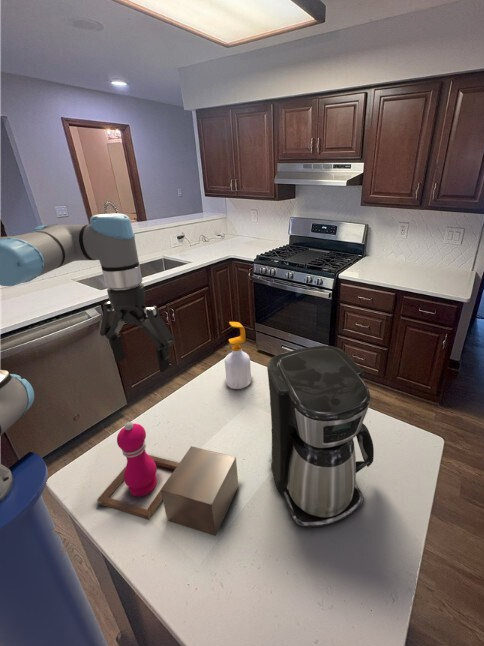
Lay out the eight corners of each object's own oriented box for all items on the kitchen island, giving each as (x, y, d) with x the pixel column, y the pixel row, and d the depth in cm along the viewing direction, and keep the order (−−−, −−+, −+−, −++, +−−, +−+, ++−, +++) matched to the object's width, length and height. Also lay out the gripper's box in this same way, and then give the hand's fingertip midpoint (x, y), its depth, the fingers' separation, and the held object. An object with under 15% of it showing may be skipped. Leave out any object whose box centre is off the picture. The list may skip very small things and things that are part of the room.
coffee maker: (321, 553, 64) (330, 427, 51) (232, 457, 86) (222, 351, 72) (380, 484, 78) (400, 371, 65) (291, 416, 100) (292, 322, 87)
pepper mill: (156, 495, 75) (141, 432, 68) (124, 501, 74) (105, 438, 66) (161, 469, 82) (148, 409, 74) (131, 475, 80) (115, 414, 73)
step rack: (98, 504, 73) (87, 473, 69) (139, 456, 86) (132, 428, 82) (213, 541, 66) (209, 509, 62) (240, 482, 78) (237, 453, 75)
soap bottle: (223, 378, 118) (218, 320, 109) (246, 372, 122) (242, 315, 113) (231, 392, 111) (226, 331, 101) (254, 385, 115) (252, 325, 105)
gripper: (182, 285, 70) (193, 364, 78) (96, 275, 77) (115, 349, 86) (160, 296, 64) (175, 382, 72) (68, 284, 71) (91, 364, 79)
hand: (142, 364), depth 79 cm, fingers open, 13 cm apart
